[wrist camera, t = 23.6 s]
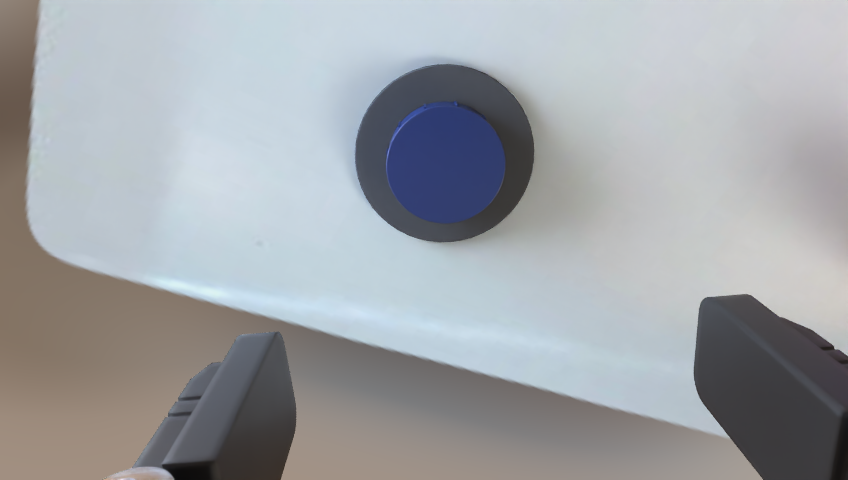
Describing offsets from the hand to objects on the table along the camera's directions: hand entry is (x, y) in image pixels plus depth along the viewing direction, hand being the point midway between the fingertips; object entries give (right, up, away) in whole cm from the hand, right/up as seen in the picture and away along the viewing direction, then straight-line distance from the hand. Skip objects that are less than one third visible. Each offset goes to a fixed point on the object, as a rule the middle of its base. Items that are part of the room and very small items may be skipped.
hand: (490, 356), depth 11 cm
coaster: (0, +6, +18) cm, 19 cm away
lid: (0, +6, +16) cm, 17 cm away
